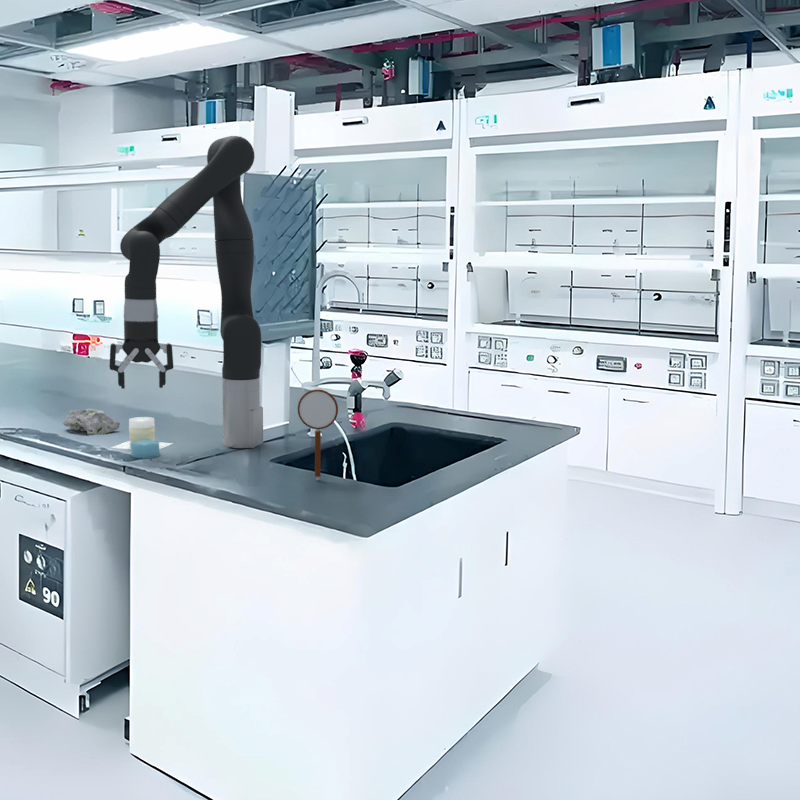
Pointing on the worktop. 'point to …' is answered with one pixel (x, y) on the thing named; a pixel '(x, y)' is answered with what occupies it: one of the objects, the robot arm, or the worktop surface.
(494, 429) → the worktop surface
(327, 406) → the magnifying glass
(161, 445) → the mat
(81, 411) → the mineral specimen
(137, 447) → the cap
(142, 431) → the jar
